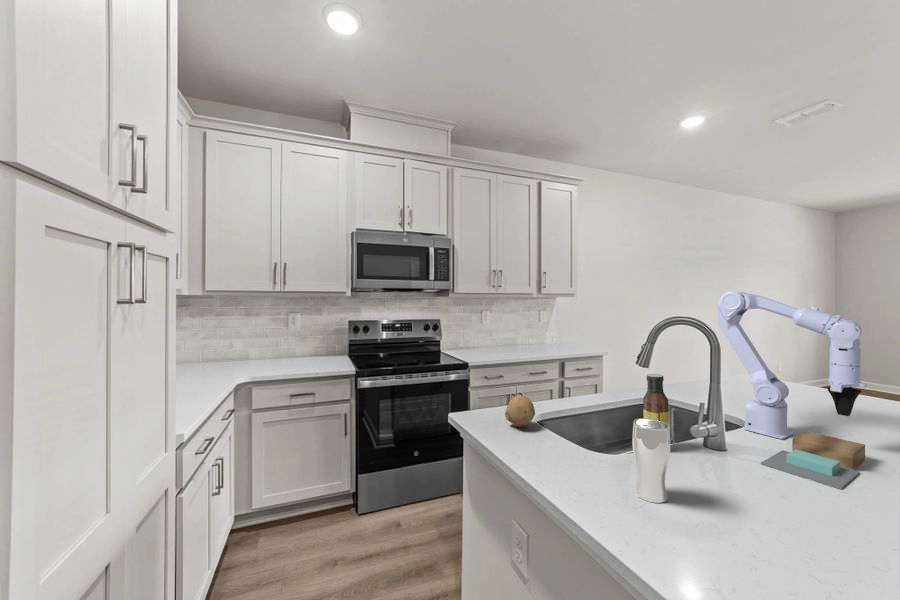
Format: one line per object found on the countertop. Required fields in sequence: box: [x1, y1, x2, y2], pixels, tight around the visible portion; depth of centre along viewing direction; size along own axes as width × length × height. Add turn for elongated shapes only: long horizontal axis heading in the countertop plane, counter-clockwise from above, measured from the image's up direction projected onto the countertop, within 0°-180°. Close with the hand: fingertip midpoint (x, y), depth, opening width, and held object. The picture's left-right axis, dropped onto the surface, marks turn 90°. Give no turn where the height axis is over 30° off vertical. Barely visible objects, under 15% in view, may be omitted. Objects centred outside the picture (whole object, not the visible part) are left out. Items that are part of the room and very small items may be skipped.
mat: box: [760, 450, 861, 490], centre depth 89 cm, size 14×14×1 cm
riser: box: [791, 430, 866, 470], centre depth 95 cm, size 11×10×4 cm
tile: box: [786, 449, 840, 476], centre depth 90 cm, size 8×6×2 cm
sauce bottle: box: [642, 373, 671, 433], centre depth 101 cm, size 6×6×20 cm
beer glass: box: [631, 418, 671, 504], centre depth 77 cm, size 7×7×15 cm
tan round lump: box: [504, 395, 536, 429], centre depth 116 cm, size 9×9×10 cm
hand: (843, 415), depth 100 cm, fingers closed
